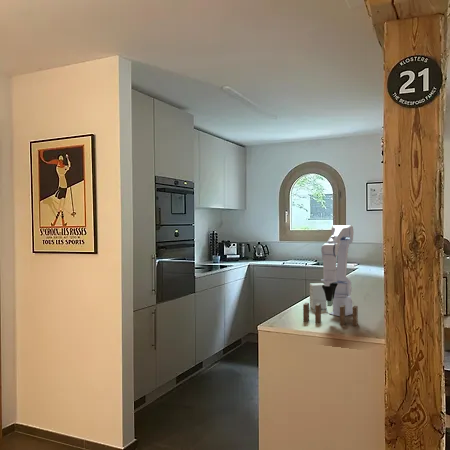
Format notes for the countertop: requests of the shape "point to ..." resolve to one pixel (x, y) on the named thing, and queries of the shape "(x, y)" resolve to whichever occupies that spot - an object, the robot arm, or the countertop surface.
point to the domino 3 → (330, 302)
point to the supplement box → (317, 295)
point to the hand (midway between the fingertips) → (330, 299)
